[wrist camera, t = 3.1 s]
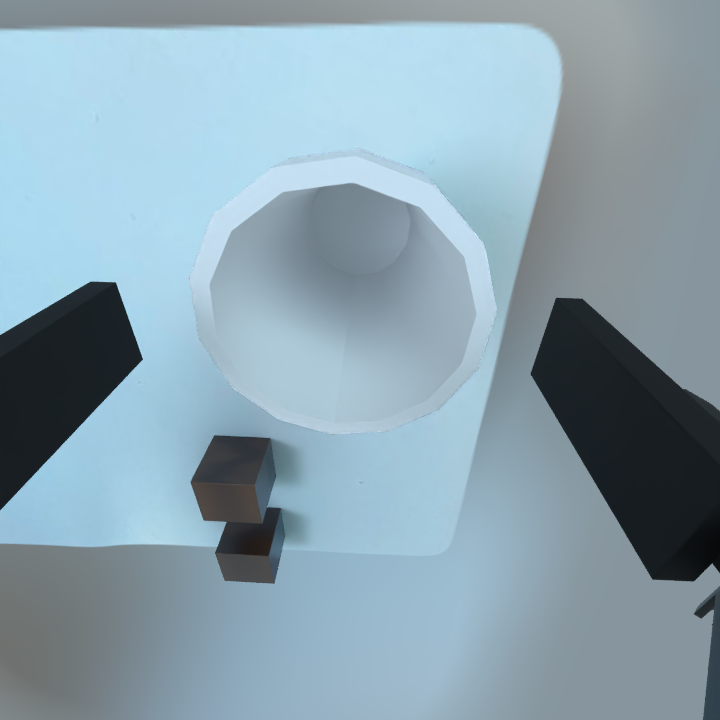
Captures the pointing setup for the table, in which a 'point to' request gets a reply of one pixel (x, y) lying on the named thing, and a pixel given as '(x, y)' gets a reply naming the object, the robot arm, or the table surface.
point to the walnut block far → (252, 549)
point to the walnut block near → (235, 479)
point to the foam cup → (343, 293)
